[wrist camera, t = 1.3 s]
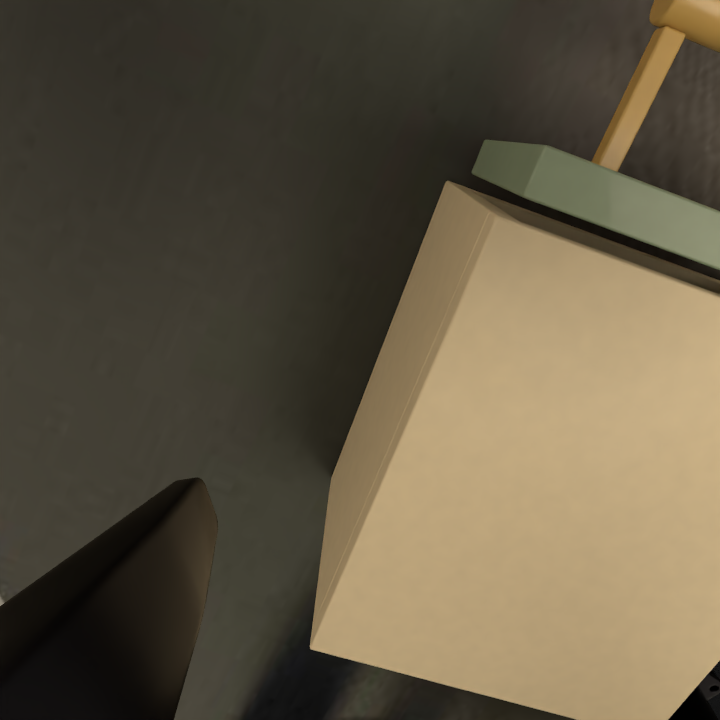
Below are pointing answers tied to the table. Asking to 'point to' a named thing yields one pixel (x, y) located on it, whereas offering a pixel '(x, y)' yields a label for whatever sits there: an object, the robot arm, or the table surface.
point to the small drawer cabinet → (534, 473)
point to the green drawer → (621, 155)
